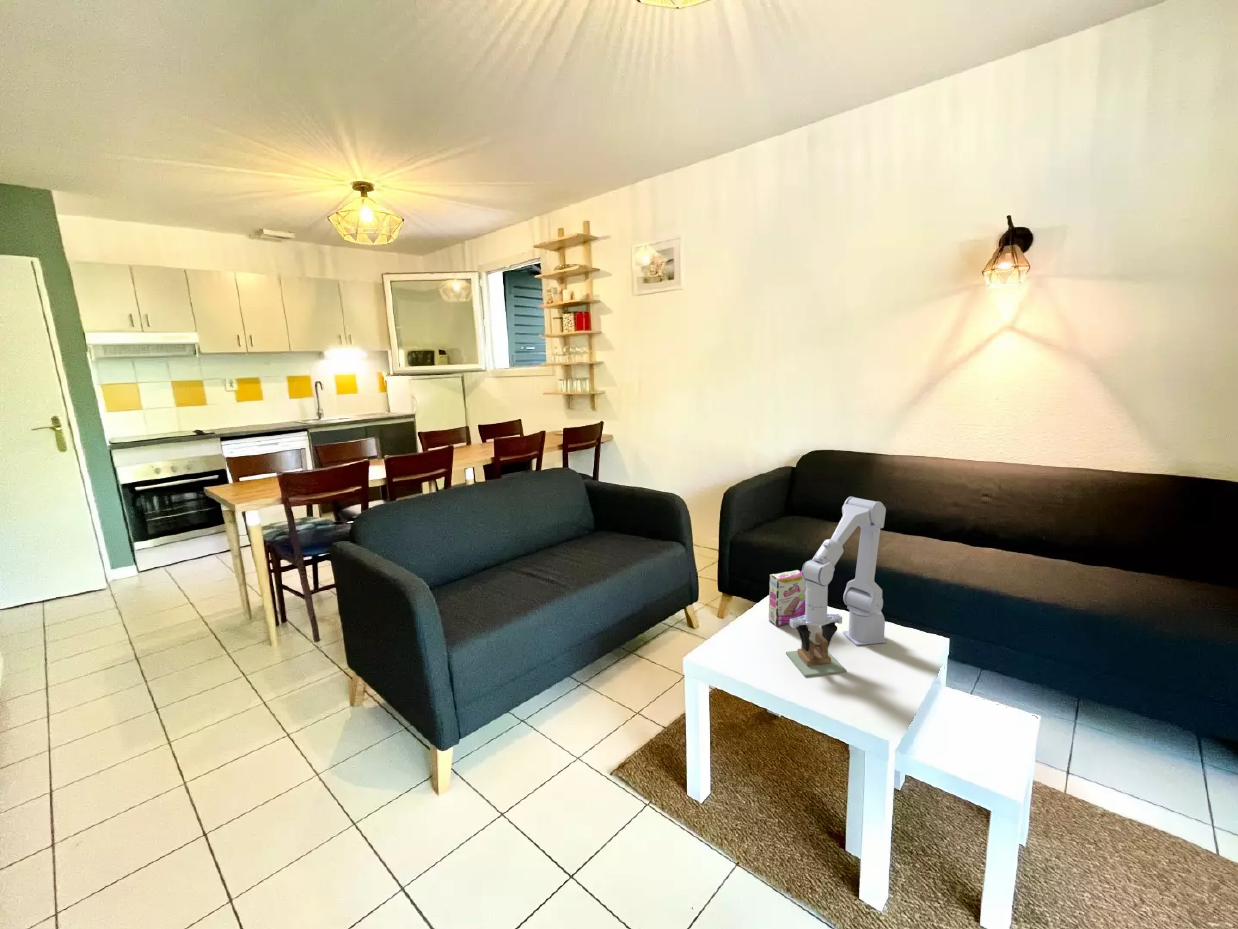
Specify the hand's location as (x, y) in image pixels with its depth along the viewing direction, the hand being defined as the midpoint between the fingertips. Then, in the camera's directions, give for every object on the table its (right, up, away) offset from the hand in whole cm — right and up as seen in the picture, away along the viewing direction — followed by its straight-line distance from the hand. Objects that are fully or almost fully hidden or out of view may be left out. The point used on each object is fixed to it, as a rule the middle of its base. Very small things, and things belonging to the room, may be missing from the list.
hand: (815, 648), depth 148 cm
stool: (0, -3, +1) cm, 4 cm away
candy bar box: (0, 0, +26) cm, 26 cm away
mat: (0, -4, +1) cm, 4 cm away
